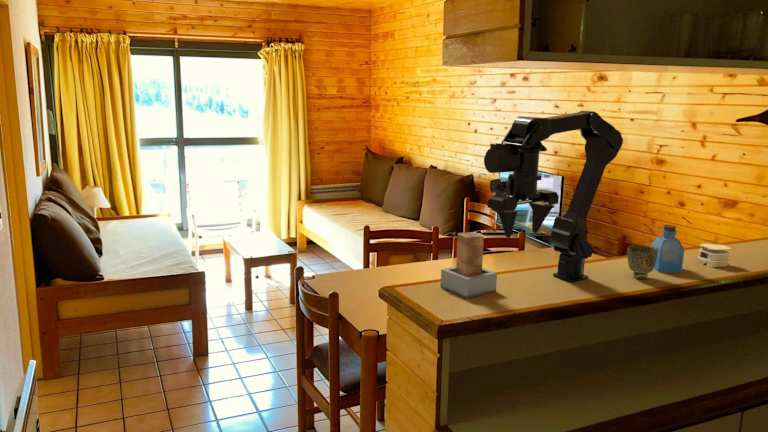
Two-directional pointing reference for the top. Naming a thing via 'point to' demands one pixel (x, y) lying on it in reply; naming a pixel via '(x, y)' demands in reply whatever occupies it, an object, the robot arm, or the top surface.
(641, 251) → the cup
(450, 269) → the slate well
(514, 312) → the top surface
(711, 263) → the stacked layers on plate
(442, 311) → the top surface
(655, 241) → the perfume bottle
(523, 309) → the top surface
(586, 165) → the robot arm
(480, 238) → the walnut block
